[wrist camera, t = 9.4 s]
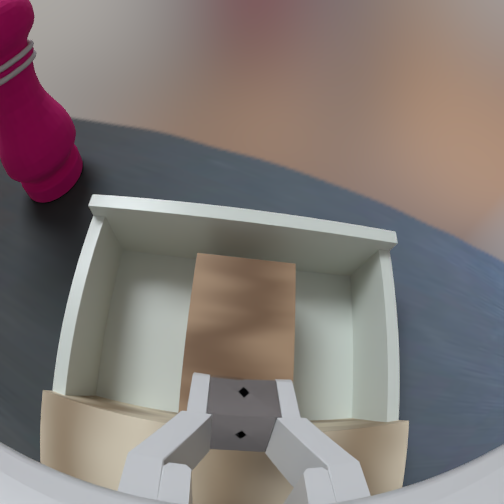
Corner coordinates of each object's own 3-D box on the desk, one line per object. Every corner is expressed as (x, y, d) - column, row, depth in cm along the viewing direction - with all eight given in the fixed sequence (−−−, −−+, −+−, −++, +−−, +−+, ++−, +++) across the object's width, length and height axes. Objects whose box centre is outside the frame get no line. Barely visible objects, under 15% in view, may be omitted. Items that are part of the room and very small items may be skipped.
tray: (88, 392, 15) (42, 390, 10) (118, 242, 20) (92, 194, 15) (358, 416, 17) (408, 420, 12) (355, 270, 22) (395, 231, 16)
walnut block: (178, 417, 11) (197, 252, 15) (187, 409, 16) (200, 286, 19) (290, 424, 12) (295, 263, 15) (270, 415, 16) (276, 294, 20)
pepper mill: (85, 197, 22) (9, -33, 4) (19, 216, 20) (-84, 33, 2) (90, 141, 24) (49, -46, 7) (31, 159, 23) (-32, -4, 5)
